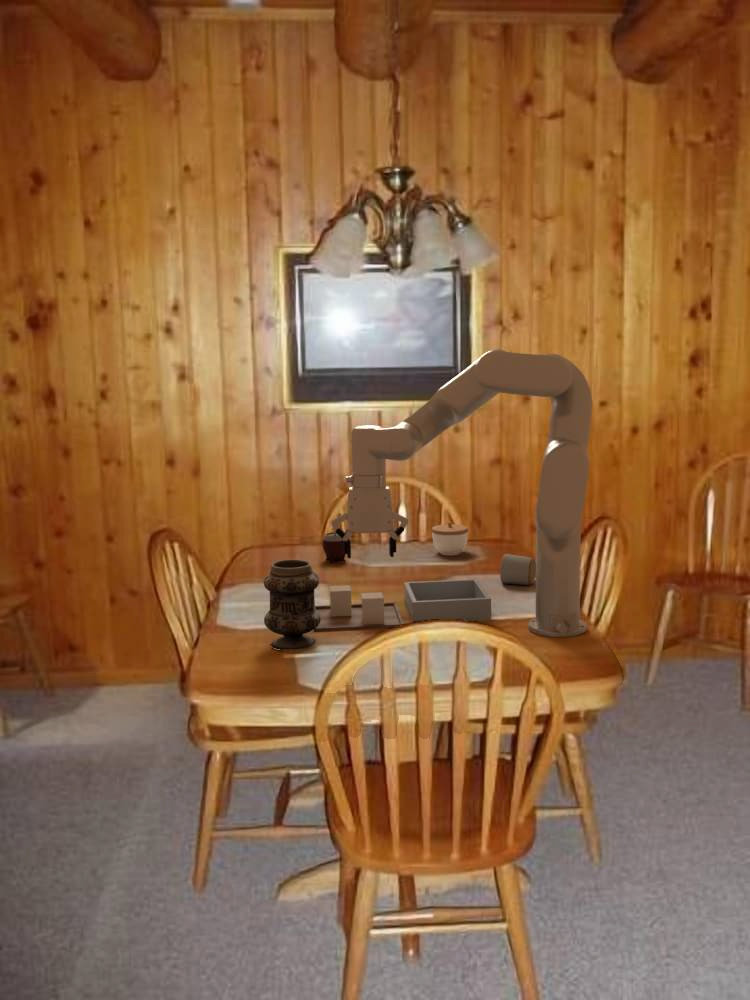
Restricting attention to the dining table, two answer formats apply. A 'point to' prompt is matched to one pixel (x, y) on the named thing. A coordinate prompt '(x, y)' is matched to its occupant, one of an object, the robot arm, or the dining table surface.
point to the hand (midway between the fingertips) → (370, 556)
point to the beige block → (372, 608)
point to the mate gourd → (333, 547)
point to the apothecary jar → (292, 603)
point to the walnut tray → (357, 618)
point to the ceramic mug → (517, 570)
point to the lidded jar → (450, 538)
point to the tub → (447, 600)
